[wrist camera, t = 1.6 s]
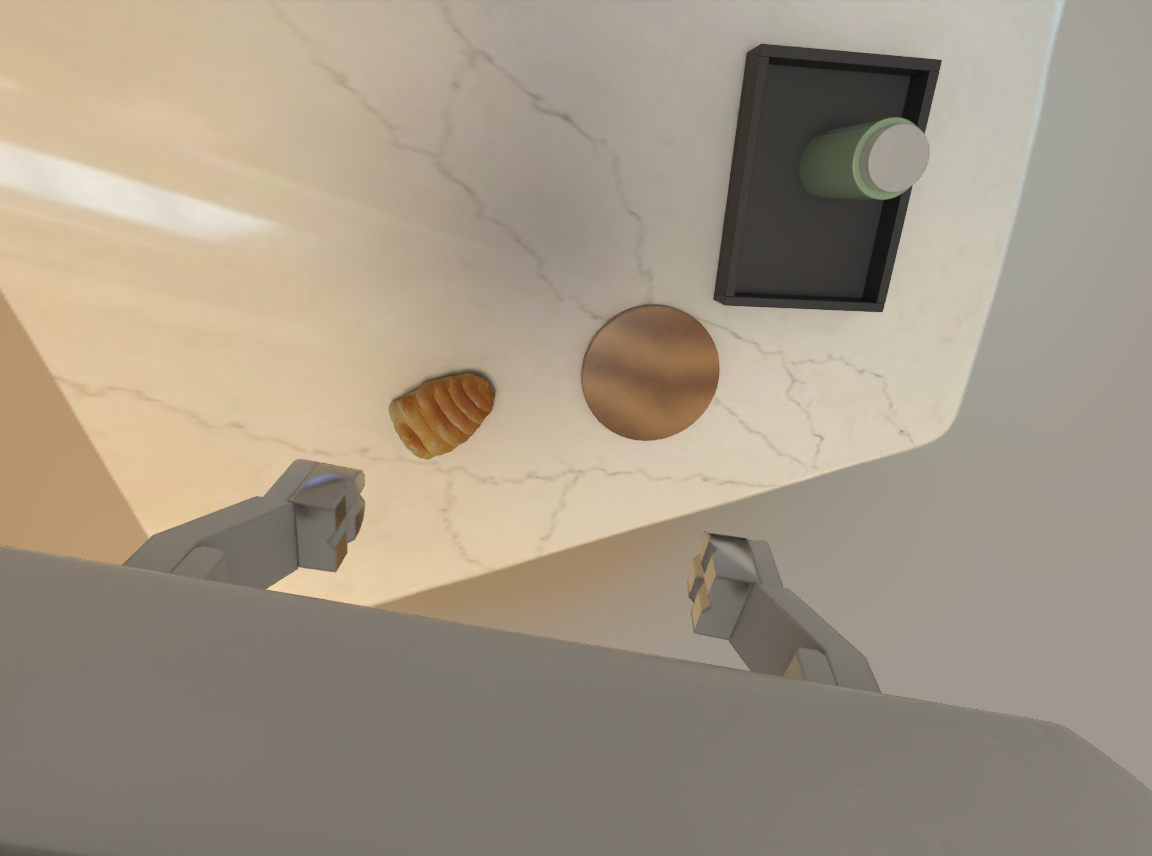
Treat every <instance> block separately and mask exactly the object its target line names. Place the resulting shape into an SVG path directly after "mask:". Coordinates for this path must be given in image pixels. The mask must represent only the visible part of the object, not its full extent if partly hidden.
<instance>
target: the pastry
mask: <svg viewBox="0 0 1152 856" xmlns="http://www.w3.org/2000/svg"><path fill="white" fill-rule="evenodd" d="M494 397H495V392H494V390H493V388H492V386H491V385H490V383H489V382H487V381H486V380H485V379H484V378H482V377H479V376H476V375H474V374H471V373H466V374H462V375H457V376H447V377H444V378H441V379H436V380H434V381H429V382H425V383H423V384H422V385H421V386H420V387H419V388H418V389H416V390H414V391H412V392H410V393H408V394H406V395H405V396H404V397H402V398H400V399H398V400H395V401H393V402H391V403H390V405H389V413H390V418H391V420H392V422H393V423H394V427H395V430H396V432H397V433H398V435H399V437H400V439H401V440H402V442H403V443H404V445H405V446H406V447H407V448H408V449H409V450H411V451H412V453H413V454H414V455H416V456H417V457H419V458H423V459H430V458H432V457H434V456H437V455H442V454H444V453H447V452H450V451H452V450H453V449H454V448H456V447H457V446H458V445H460V444H462V443H464V442H465V441H467V440H468V438H469V437H470V436H471V435H473V434H474V432H475V431H476V429H477V428H478V427H479V426H480V425H481V423H482V422H483V420H484V419H485V417H486V416H487V415H488V414H489V413H490V412H491V411H492V407H493V400H494Z"/></svg>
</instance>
